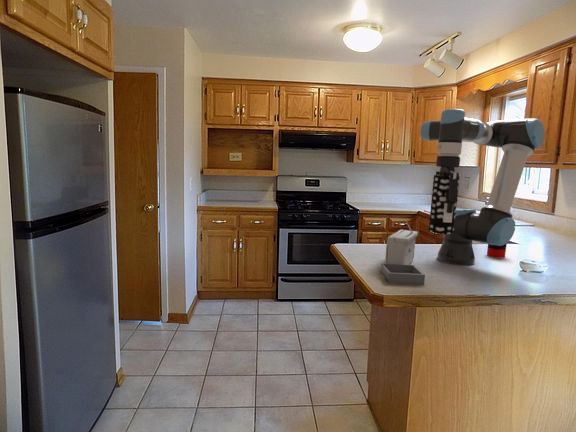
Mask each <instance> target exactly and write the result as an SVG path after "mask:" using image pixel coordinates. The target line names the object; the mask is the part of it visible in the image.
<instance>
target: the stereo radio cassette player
mask: <svg viewBox="0 0 576 432" xmlns="http://www.w3.org/2000/svg"><path fill="white" fill-rule="evenodd" d="M405 223H406V225H407V226H408V230H407V229H398V230H397V231H396V232H394V233H392V234H390V235H389V236H387V240H386V246H385V258H384V259H385V260H384V261H385V262H384V264H407V265H411V263H412V262H413V261H414V257H415V247H416V246H415V245H416V238H417V237H418V236H419V231H416V230H412V229H411V226H410V225H409V223H408V221H407V220H405Z"/></svg>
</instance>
